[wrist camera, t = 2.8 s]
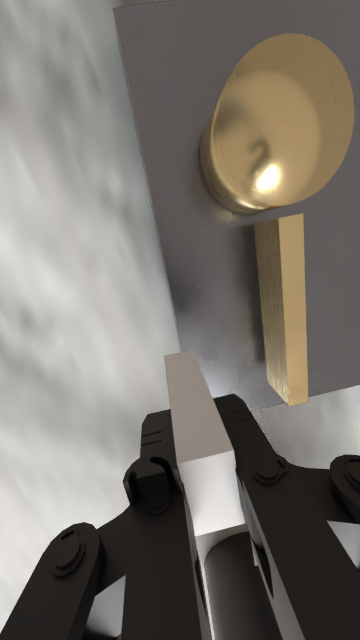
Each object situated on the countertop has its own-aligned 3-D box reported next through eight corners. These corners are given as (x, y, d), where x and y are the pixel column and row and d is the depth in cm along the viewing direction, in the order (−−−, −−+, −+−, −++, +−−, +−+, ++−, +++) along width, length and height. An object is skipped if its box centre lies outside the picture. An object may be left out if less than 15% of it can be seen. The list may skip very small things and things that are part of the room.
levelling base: (118, 42, 13) (97, -95, 8) (516, -17, 15) (725, -166, 9) (192, 407, 21) (207, 463, 15) (452, 345, 22) (549, 377, 17)
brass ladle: (191, 99, 13) (206, 45, 9) (302, 81, 13) (357, 22, 9) (230, 383, 18) (250, 415, 14) (308, 364, 18) (345, 392, 15)
